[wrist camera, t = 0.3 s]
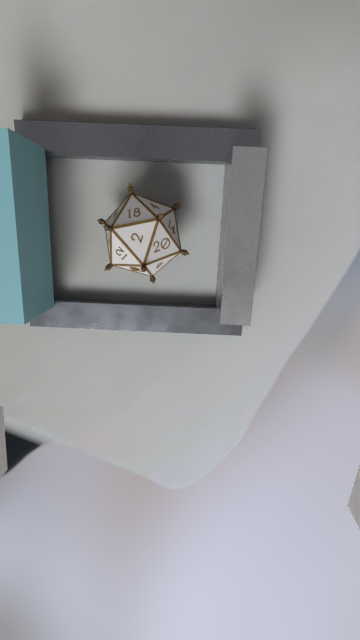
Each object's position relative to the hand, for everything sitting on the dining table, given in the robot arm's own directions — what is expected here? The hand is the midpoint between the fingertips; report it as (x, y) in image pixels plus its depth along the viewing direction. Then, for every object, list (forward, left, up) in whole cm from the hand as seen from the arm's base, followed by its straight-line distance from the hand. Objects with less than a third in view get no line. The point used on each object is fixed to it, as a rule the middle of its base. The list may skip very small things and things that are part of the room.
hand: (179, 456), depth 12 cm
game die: (-7, -4, -28) cm, 29 cm away
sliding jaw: (-7, -16, -26) cm, 31 cm away
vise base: (-7, -4, -28) cm, 29 cm away
